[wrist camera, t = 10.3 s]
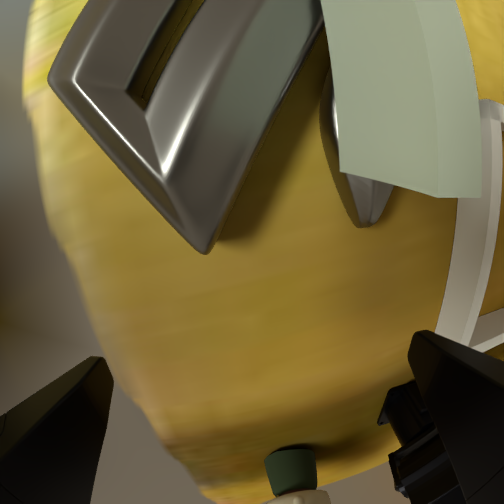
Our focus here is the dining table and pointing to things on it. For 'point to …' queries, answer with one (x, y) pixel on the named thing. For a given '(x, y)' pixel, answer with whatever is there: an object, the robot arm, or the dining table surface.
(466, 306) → the rack
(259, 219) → the dining table surface
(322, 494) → the character mug
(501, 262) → the dining table surface
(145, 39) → the emblem
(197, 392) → the dining table surface
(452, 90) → the pale green rectangular slab
